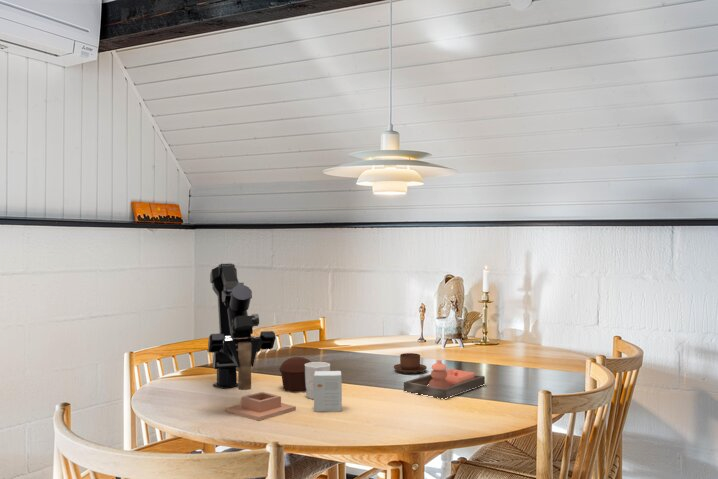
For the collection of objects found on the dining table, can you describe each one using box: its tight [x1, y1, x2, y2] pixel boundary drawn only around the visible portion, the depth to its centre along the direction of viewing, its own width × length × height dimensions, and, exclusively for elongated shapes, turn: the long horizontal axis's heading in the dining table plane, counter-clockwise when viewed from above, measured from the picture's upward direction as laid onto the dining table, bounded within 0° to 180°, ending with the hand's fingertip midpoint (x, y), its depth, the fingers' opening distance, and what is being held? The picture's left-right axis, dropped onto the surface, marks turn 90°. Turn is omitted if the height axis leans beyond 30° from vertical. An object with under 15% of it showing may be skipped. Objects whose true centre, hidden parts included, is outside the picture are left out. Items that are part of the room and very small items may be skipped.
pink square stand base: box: [225, 391, 297, 421], centre depth 190 cm, size 14×14×4 cm
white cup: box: [305, 361, 331, 400], centre depth 206 cm, size 8×8×10 cm
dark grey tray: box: [403, 373, 486, 400], centre depth 217 cm, size 15×24×3 cm, turn 139°
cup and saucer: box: [393, 352, 427, 374], centre depth 242 cm, size 12×12×6 cm
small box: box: [313, 370, 343, 412], centre depth 192 cm, size 8×6×10 cm
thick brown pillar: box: [237, 342, 252, 391], centre depth 187 cm, size 4×4×13 cm
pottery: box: [428, 359, 476, 389], centre depth 218 cm, size 18×10×10 cm, turn 139°
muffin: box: [278, 356, 312, 393], centre depth 216 cm, size 12×11×10 cm
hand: (245, 366), depth 186 cm, fingers closed on thick brown pillar, 4 cm apart
